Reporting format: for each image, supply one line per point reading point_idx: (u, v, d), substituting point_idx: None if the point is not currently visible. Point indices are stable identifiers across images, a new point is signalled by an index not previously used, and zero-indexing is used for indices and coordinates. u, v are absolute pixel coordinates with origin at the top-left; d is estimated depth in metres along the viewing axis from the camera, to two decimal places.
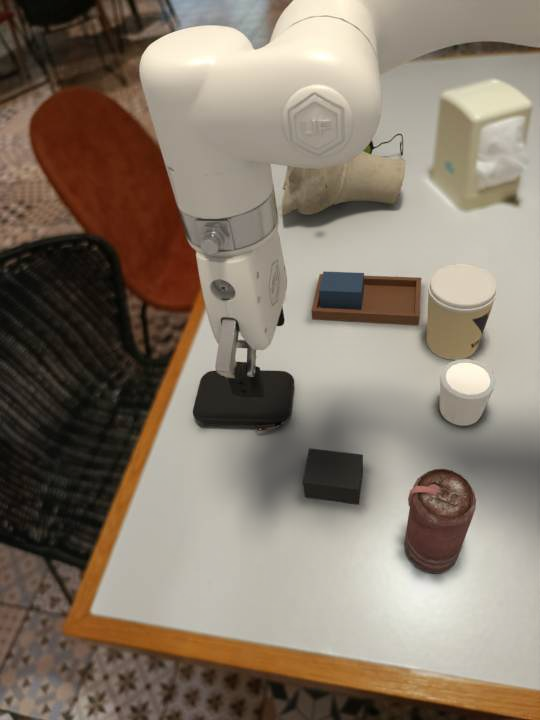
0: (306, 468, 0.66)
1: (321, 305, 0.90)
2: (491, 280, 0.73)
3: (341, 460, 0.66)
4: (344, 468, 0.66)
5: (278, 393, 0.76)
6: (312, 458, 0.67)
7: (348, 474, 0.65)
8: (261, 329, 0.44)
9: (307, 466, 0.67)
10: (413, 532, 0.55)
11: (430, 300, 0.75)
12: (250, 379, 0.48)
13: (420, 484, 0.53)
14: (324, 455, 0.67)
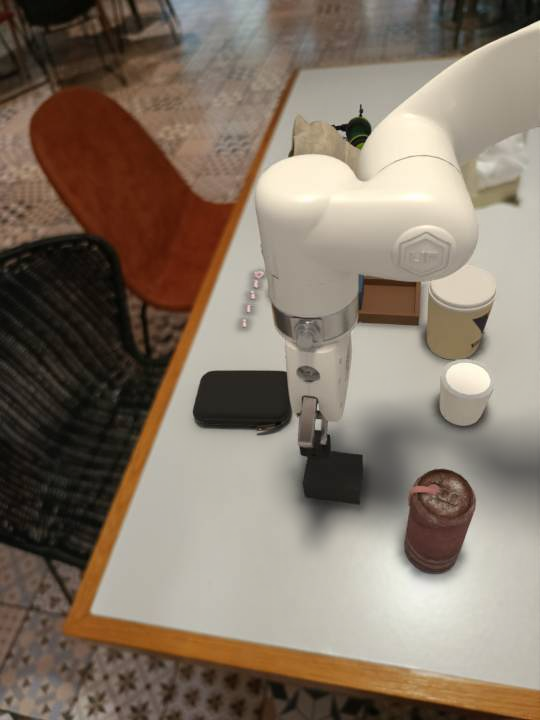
0: (306, 468, 0.66)
1: None
2: (491, 280, 0.73)
3: (341, 460, 0.66)
4: (344, 468, 0.66)
5: (278, 393, 0.76)
6: None
7: (348, 474, 0.65)
8: (338, 405, 0.48)
9: (307, 466, 0.67)
10: (413, 532, 0.55)
11: (430, 300, 0.75)
12: (321, 445, 0.52)
13: (420, 484, 0.53)
14: None
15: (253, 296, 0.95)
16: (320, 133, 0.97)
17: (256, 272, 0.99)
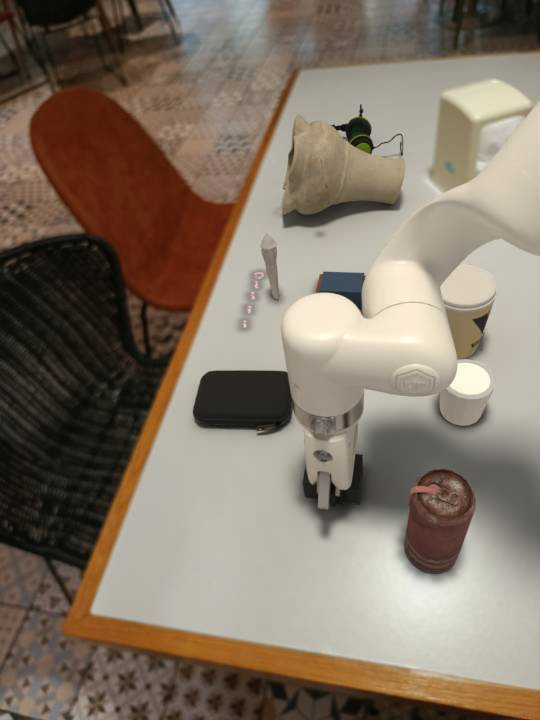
0: (306, 468, 0.66)
1: None
2: (491, 280, 0.73)
3: None
4: None
5: (278, 393, 0.76)
6: None
7: None
8: (347, 478, 0.57)
9: None
10: (413, 532, 0.55)
11: None
12: None
13: (420, 484, 0.53)
14: None
15: (253, 297, 0.95)
16: (320, 133, 0.97)
17: (256, 273, 1.00)
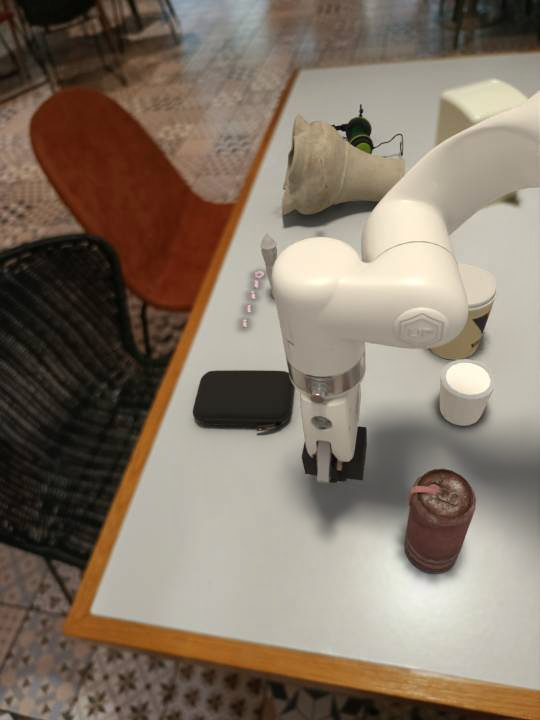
0: None
1: None
2: (491, 280, 0.73)
3: None
4: None
5: (278, 393, 0.76)
6: None
7: None
8: (349, 448, 0.53)
9: None
10: (413, 532, 0.55)
11: None
12: (337, 470, 0.59)
13: (420, 484, 0.53)
14: None
15: (253, 296, 0.95)
16: (320, 133, 0.97)
17: (256, 272, 0.99)
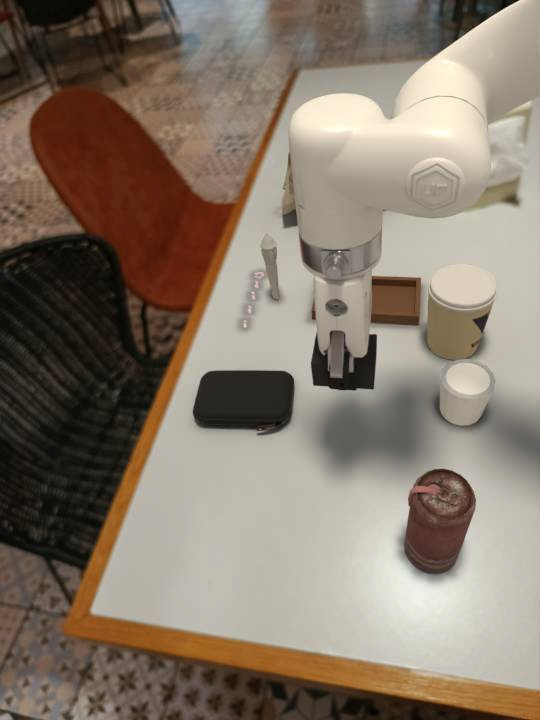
0: (314, 350, 0.60)
1: None
2: (491, 280, 0.73)
3: None
4: None
5: (278, 393, 0.76)
6: None
7: None
8: (364, 340, 0.51)
9: (315, 348, 0.60)
10: (413, 532, 0.55)
11: (430, 300, 0.75)
12: (348, 374, 0.57)
13: (420, 484, 0.53)
14: None
15: (254, 297, 0.95)
16: None
17: (257, 273, 0.99)
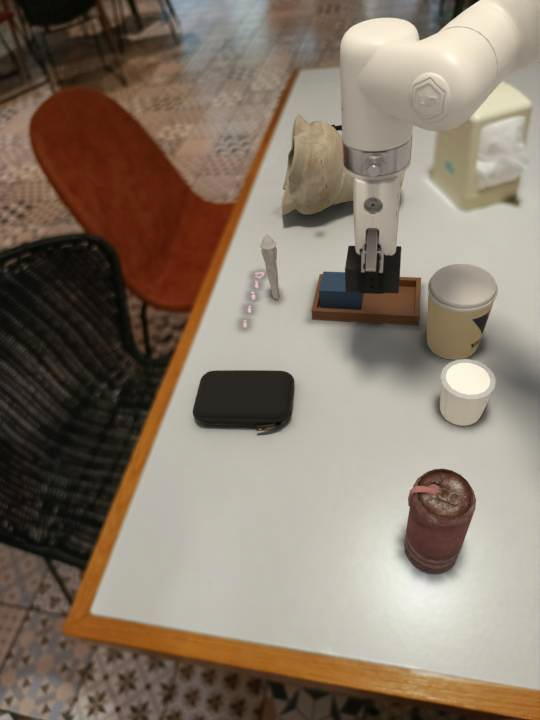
0: (347, 259, 0.69)
1: (321, 305, 0.90)
2: (491, 280, 0.73)
3: None
4: (384, 256, 0.69)
5: (278, 393, 0.76)
6: (352, 251, 0.70)
7: (388, 260, 0.68)
8: (394, 237, 0.61)
9: (348, 257, 0.70)
10: (413, 532, 0.55)
11: (430, 300, 0.75)
12: (378, 276, 0.67)
13: (420, 484, 0.53)
14: None
15: (254, 297, 0.95)
16: (320, 133, 0.97)
17: (257, 273, 0.99)
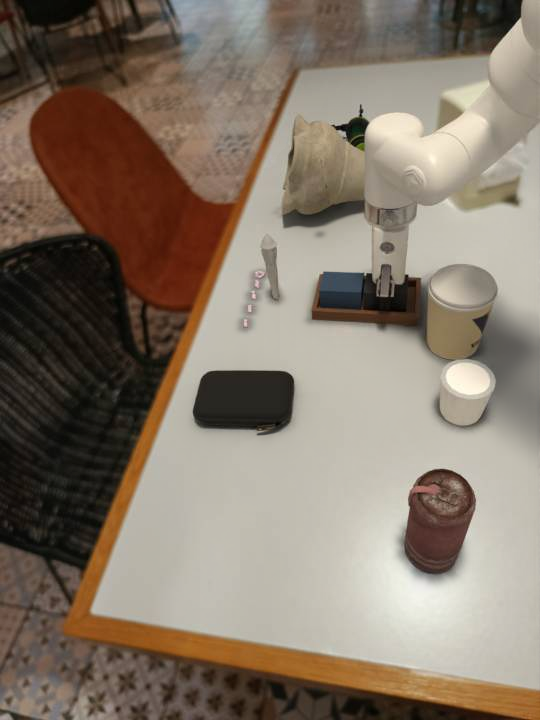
0: (365, 284, 0.87)
1: (321, 305, 0.90)
2: (491, 280, 0.73)
3: None
4: None
5: (278, 393, 0.76)
6: (369, 278, 0.88)
7: (398, 286, 0.86)
8: (403, 271, 0.78)
9: (366, 283, 0.87)
10: (413, 532, 0.55)
11: (430, 300, 0.75)
12: (390, 300, 0.84)
13: (420, 484, 0.53)
14: None
15: (254, 296, 0.95)
16: (320, 133, 0.97)
17: (257, 272, 0.99)
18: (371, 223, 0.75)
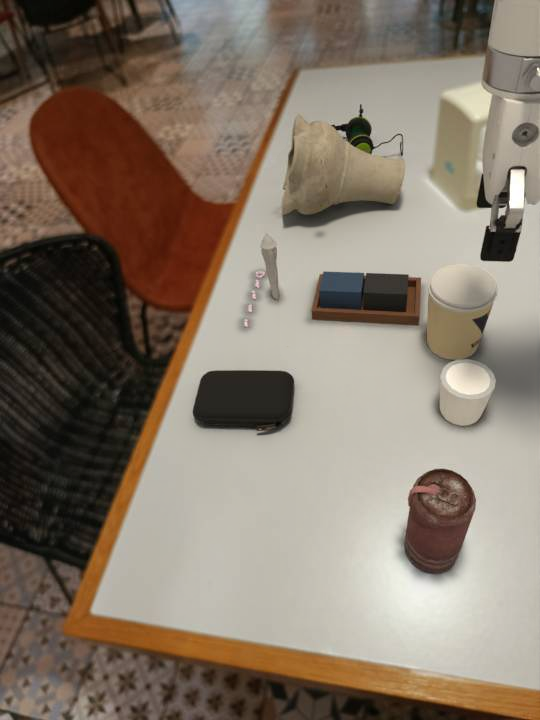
0: (365, 284, 0.87)
1: (321, 305, 0.90)
2: (491, 280, 0.73)
3: (391, 278, 0.87)
4: (395, 282, 0.86)
5: (278, 393, 0.76)
6: (369, 278, 0.88)
7: (398, 286, 0.86)
8: None
9: (366, 283, 0.87)
10: (413, 532, 0.55)
11: (430, 300, 0.75)
12: None
13: (420, 484, 0.53)
14: (378, 276, 0.88)
15: (254, 296, 0.95)
16: (320, 133, 0.97)
17: (257, 272, 0.99)
18: (499, 92, 0.44)
